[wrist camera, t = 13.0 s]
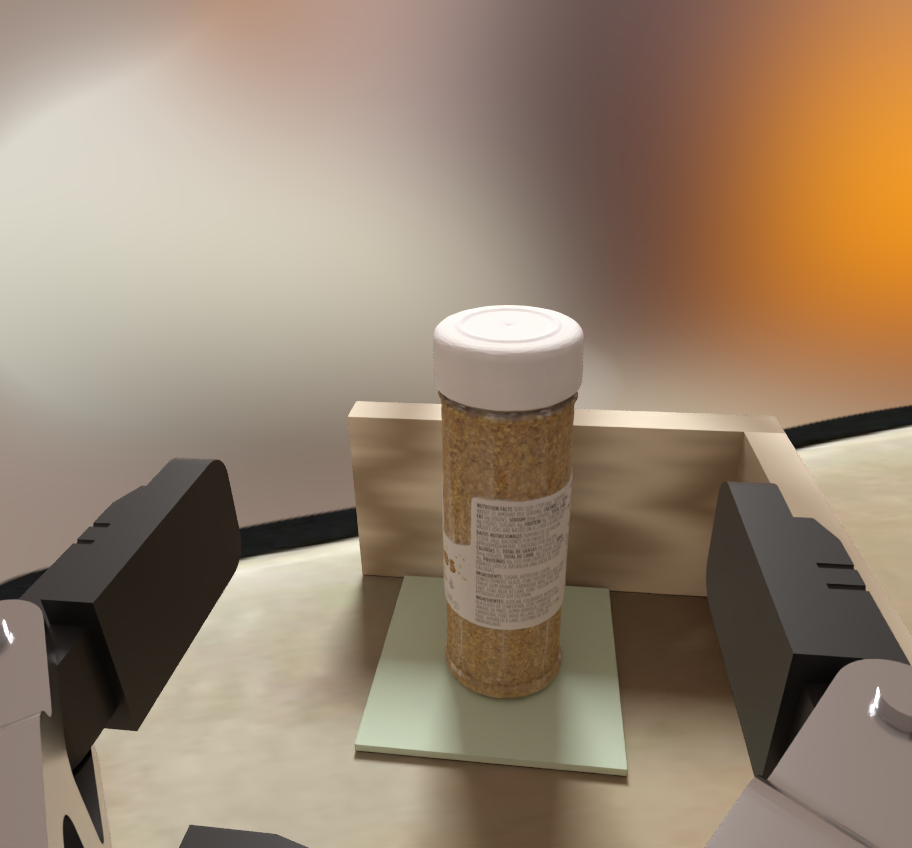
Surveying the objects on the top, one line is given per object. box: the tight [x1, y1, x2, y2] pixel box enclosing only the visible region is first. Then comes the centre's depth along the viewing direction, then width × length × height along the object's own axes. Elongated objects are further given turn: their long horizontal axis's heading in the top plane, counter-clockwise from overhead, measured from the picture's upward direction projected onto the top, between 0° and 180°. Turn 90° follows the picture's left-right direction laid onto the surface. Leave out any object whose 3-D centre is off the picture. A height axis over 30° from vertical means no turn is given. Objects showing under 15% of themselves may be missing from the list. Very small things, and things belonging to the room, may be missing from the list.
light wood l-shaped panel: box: [348, 401, 912, 666], centre depth 24 cm, size 17×18×8 cm
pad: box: [355, 575, 627, 776], centre depth 28 cm, size 9×9×1 cm
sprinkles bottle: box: [433, 305, 584, 698], centre depth 25 cm, size 5×5×13 cm
